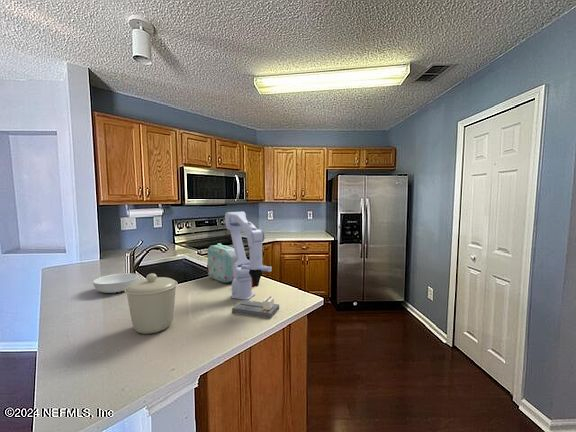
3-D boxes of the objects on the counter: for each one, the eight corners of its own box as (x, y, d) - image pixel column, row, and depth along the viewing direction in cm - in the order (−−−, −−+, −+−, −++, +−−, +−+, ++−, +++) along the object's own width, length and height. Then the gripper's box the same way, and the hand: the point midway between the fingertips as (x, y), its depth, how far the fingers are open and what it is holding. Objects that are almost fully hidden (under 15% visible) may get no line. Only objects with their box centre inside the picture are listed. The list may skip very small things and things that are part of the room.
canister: (143, 317, 114) (141, 267, 113) (186, 317, 114) (184, 267, 112) (115, 339, 96) (112, 280, 95) (165, 339, 96) (163, 281, 94)
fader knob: (263, 309, 116) (263, 299, 116) (267, 304, 121) (267, 295, 120) (269, 310, 115) (269, 300, 115) (274, 305, 120) (273, 296, 119)
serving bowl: (141, 291, 146) (140, 279, 145) (93, 300, 134) (92, 286, 134) (136, 282, 163) (136, 270, 163) (94, 288, 151) (93, 276, 151)
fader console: (232, 312, 118) (232, 308, 118) (243, 304, 127) (243, 299, 127) (270, 318, 112) (270, 313, 112) (279, 308, 122) (279, 304, 122)
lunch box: (204, 276, 173) (203, 243, 172) (219, 273, 180) (218, 241, 179) (226, 286, 154) (225, 248, 152) (241, 282, 161) (241, 246, 159)
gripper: (237, 257, 122) (237, 287, 123) (267, 259, 118) (267, 290, 118) (244, 254, 129) (245, 282, 130) (273, 256, 124) (273, 285, 125)
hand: (256, 285), depth 125 cm, fingers closed
